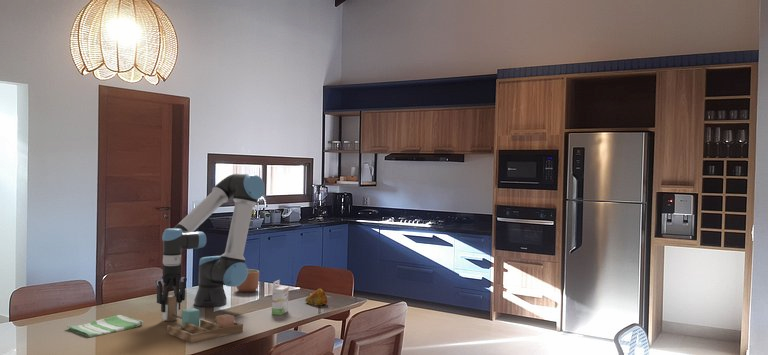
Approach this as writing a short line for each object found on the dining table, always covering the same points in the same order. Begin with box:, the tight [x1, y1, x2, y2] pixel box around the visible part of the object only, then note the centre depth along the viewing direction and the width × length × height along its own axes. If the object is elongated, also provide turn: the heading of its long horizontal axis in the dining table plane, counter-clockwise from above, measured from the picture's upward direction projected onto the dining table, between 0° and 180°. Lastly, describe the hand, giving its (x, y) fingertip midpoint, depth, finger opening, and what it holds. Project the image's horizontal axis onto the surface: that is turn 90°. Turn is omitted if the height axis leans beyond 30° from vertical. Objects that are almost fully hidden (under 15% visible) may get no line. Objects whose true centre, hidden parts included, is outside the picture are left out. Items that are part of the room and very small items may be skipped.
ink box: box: [271, 279, 290, 316], centre depth 271 cm, size 9×5×15 cm, turn 168°
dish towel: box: [66, 314, 144, 339], centre depth 238 cm, size 18×23×3 cm
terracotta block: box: [216, 313, 235, 327], centre depth 238 cm, size 5×5×6 cm
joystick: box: [164, 295, 200, 328], centre depth 247 cm, size 21×5×10 cm, turn 49°
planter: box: [236, 268, 260, 293], centre depth 318 cm, size 12×12×11 cm
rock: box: [304, 288, 328, 307], centre depth 292 cm, size 11×8×10 cm
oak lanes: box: [166, 315, 244, 343], centre depth 235 cm, size 18×23×3 cm
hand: (170, 318), depth 253 cm, fingers closed on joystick, 4 cm apart
